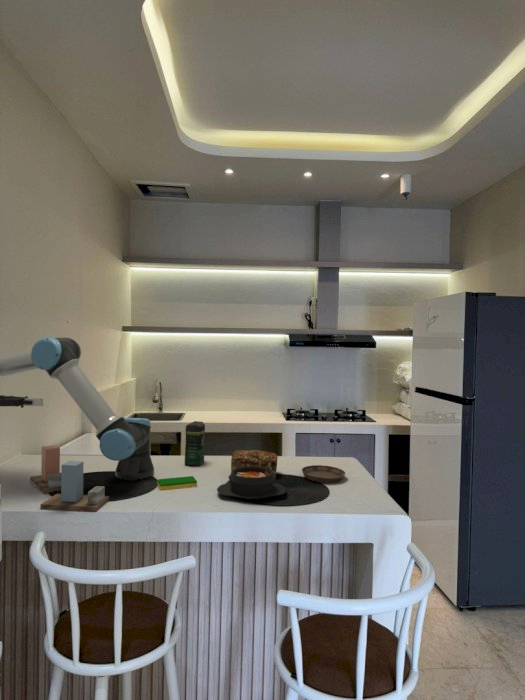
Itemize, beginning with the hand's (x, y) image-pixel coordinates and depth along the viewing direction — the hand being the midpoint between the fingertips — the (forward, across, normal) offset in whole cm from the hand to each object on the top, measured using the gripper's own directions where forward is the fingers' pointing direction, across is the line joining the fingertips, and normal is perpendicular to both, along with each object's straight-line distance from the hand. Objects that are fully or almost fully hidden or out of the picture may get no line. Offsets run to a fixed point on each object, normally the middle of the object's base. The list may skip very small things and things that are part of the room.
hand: (41, 402), depth 174 cm
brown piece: (+6, +4, -30) cm, 31 cm away
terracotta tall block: (+5, +3, -28) cm, 29 cm away
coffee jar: (+52, -32, -30) cm, 68 cm away
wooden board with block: (+25, +22, -30) cm, 45 cm away
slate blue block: (+23, +22, -28) cm, 43 cm away
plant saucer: (+108, -20, -30) cm, 114 cm away
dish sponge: (+52, -2, -31) cm, 61 cm away
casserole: (+81, +4, -30) cm, 87 cm away
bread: (+80, -20, -30) cm, 88 cm away
